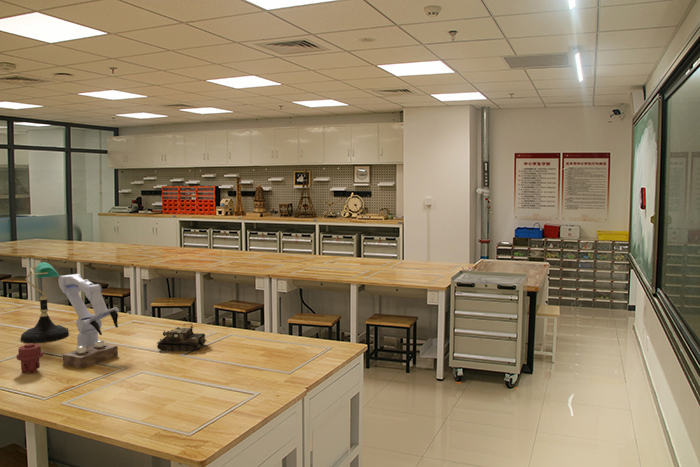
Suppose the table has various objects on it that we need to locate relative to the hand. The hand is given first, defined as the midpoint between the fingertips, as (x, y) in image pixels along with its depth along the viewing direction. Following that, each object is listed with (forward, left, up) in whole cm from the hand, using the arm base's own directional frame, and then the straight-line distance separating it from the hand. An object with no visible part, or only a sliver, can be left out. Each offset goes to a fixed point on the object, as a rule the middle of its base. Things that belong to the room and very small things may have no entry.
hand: (108, 330), depth 249 cm
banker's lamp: (-61, +11, -13) cm, 63 cm away
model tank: (+21, +27, -14) cm, 37 cm away
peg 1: (-4, -12, -10) cm, 16 cm away
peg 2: (-4, -2, -10) cm, 11 cm away
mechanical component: (-15, -29, -13) cm, 35 cm away
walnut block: (-4, -7, -13) cm, 15 cm away
